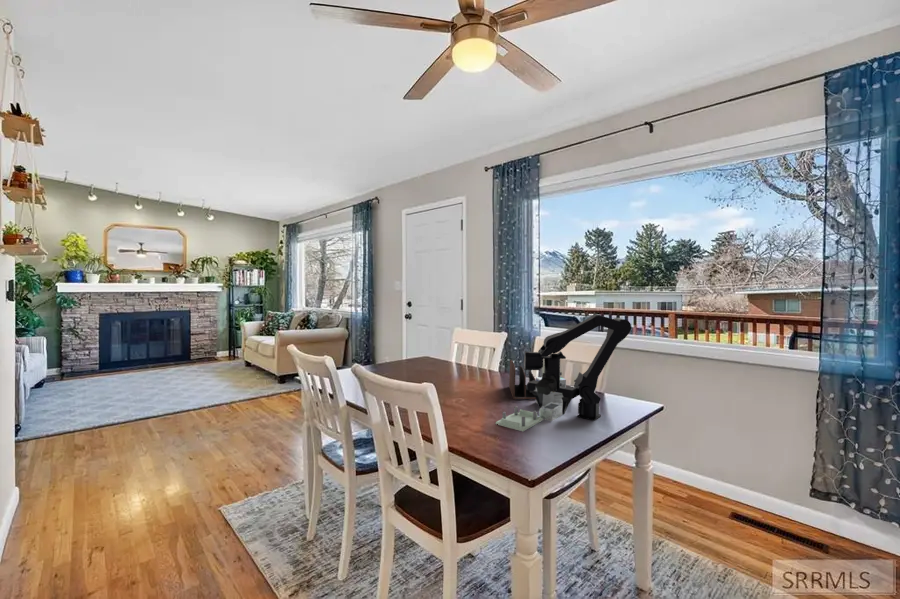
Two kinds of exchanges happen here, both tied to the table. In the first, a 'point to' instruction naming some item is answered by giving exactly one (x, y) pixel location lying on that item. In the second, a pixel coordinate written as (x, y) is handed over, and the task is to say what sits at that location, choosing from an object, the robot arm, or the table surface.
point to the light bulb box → (553, 394)
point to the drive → (551, 411)
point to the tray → (520, 419)
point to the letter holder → (521, 389)
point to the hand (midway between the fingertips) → (552, 411)
